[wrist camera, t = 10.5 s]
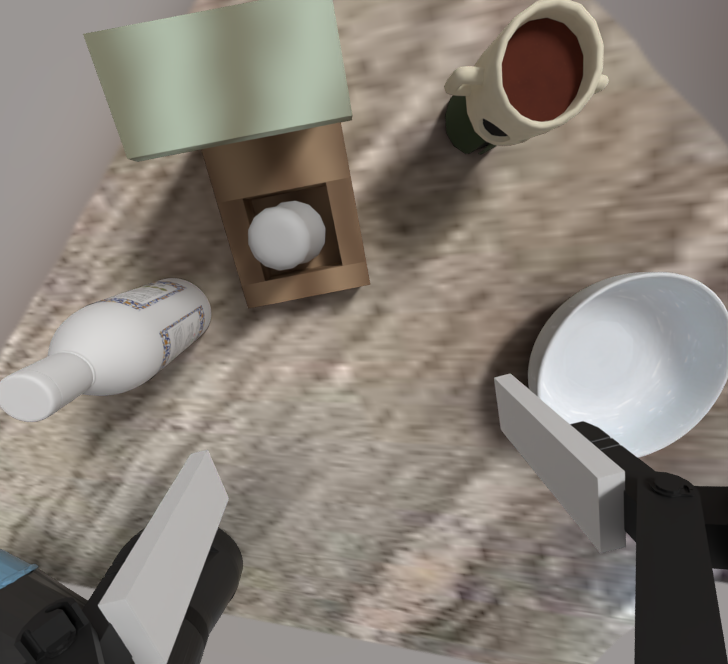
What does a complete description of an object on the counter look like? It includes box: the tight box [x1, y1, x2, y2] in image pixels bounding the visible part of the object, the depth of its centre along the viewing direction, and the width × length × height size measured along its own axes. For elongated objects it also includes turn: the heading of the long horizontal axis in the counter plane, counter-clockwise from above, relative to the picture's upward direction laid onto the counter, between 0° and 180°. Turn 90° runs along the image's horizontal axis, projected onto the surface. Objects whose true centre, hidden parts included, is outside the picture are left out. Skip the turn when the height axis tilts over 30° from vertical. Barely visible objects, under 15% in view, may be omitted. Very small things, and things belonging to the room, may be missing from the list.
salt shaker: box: [248, 201, 325, 270], centre depth 30 cm, size 6×6×13 cm
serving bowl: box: [528, 272, 728, 458], centre depth 40 cm, size 21×21×7 cm
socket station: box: [83, 0, 370, 309], centre depth 28 cm, size 12×17×17 cm
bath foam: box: [0, 278, 211, 422], centre depth 29 cm, size 7×7×20 cm
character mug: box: [444, 0, 609, 154], centre depth 29 cm, size 11×7×13 cm, turn 89°
